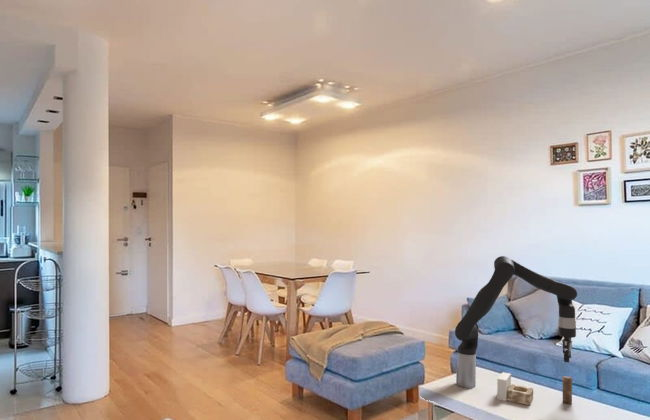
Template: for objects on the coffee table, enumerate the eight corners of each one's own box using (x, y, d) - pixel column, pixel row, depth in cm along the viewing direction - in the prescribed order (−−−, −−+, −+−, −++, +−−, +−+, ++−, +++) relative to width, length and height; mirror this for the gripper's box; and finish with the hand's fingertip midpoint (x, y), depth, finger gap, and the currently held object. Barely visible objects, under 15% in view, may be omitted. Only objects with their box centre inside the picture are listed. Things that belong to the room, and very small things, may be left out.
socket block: (507, 400, 217) (507, 390, 217) (511, 394, 225) (511, 384, 225) (530, 405, 211) (530, 394, 212) (533, 398, 220) (533, 388, 220)
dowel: (562, 402, 216) (562, 377, 216) (562, 400, 219) (563, 375, 219) (571, 404, 213) (571, 379, 214) (572, 402, 217) (572, 377, 217)
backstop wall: (497, 399, 219) (497, 378, 219) (502, 391, 229) (502, 372, 229) (505, 401, 216) (506, 380, 217) (510, 393, 226) (510, 373, 227)
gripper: (574, 330, 209) (575, 364, 209) (577, 324, 221) (577, 357, 220) (556, 327, 213) (557, 362, 213) (560, 322, 225) (560, 355, 225)
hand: (567, 359), depth 217 cm, fingers open, 8 cm apart
